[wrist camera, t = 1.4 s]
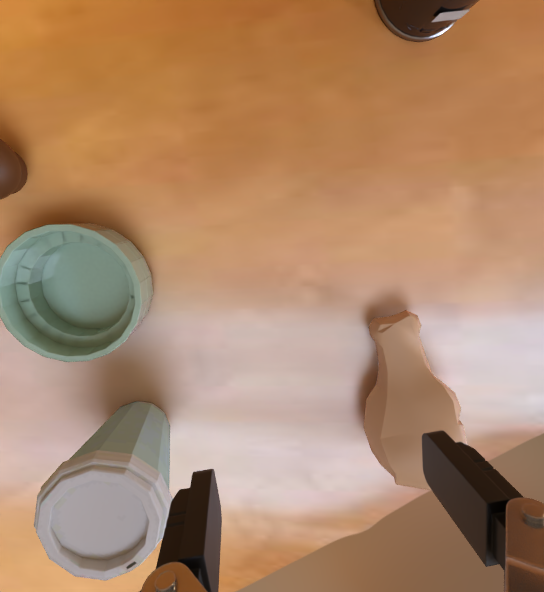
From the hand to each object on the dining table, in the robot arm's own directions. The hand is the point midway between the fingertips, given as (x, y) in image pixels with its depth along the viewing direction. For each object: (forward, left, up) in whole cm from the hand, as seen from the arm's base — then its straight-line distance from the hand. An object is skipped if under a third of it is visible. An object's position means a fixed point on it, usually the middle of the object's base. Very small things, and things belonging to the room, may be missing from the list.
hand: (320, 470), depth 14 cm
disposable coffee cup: (+14, -14, -28) cm, 35 cm away
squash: (+11, +16, -28) cm, 34 cm away
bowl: (-3, -18, -28) cm, 33 cm away
